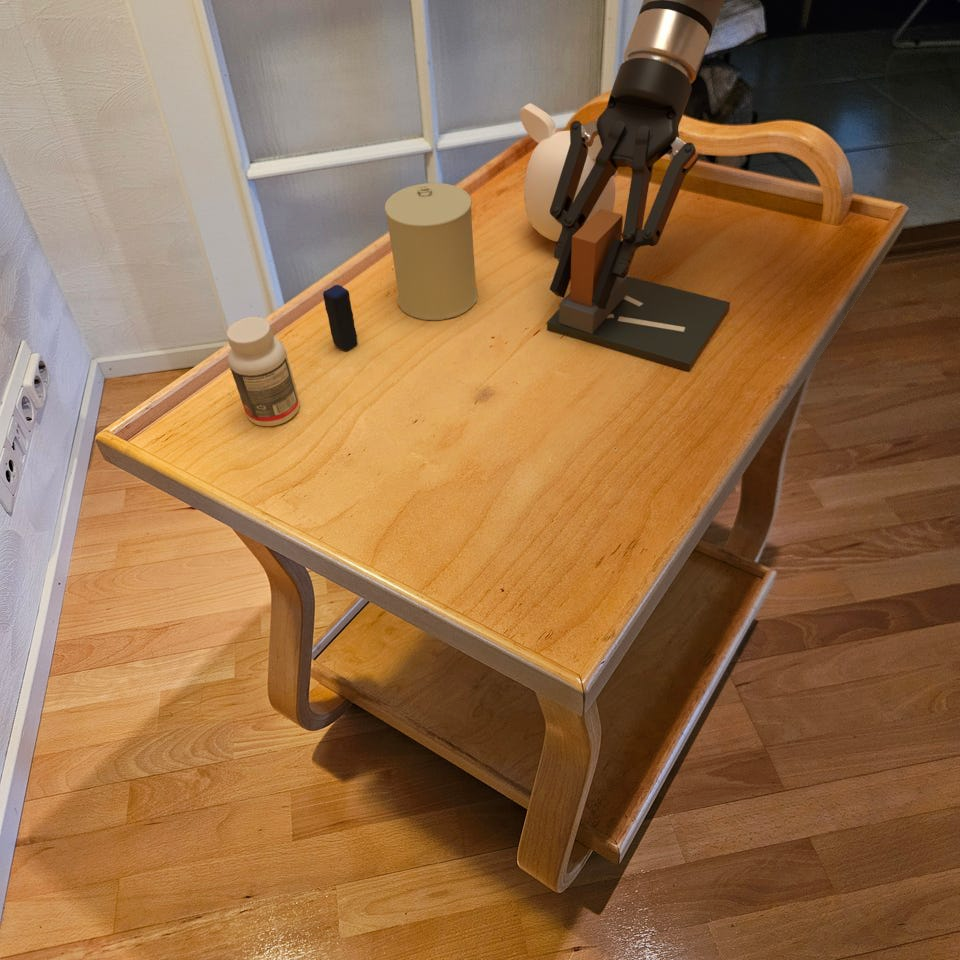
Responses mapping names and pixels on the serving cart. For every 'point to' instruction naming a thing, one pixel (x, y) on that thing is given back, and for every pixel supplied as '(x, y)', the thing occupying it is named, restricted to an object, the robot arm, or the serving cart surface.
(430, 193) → the can
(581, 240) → the chalk eraser
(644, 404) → the serving cart surface
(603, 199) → the piggy bank
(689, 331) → the slate board
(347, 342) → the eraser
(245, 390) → the pill bottle
